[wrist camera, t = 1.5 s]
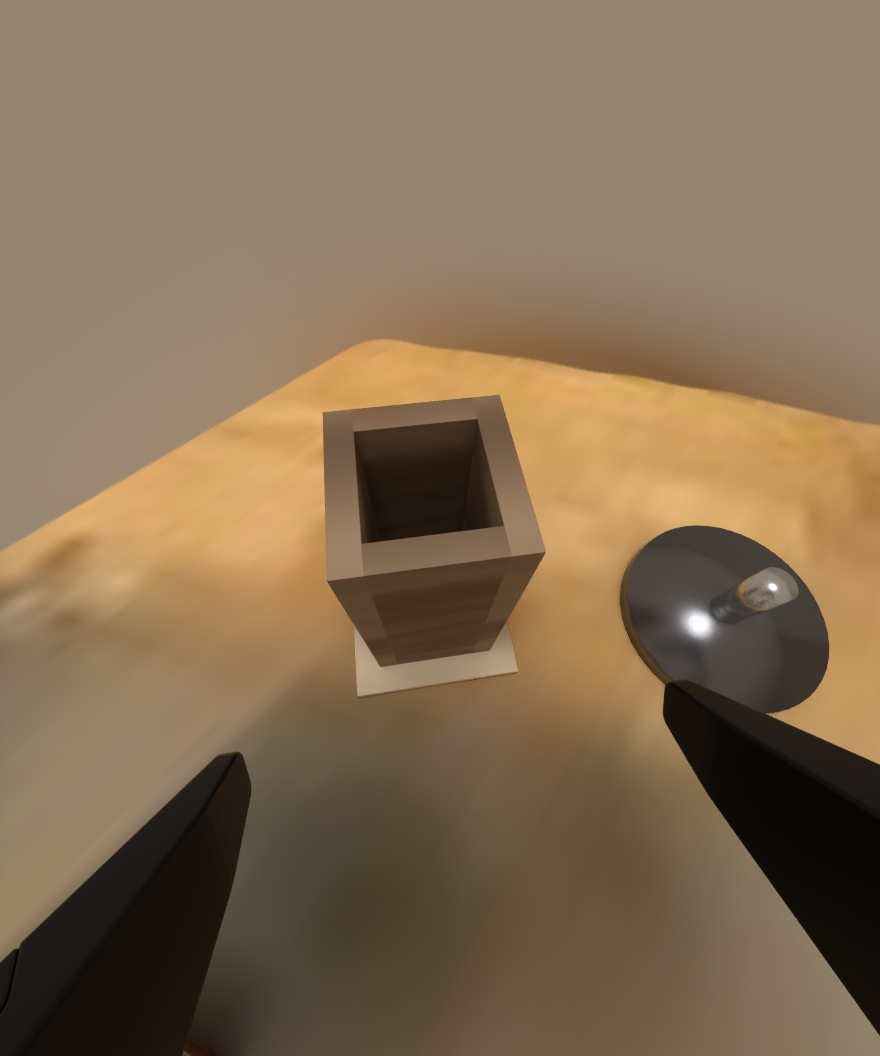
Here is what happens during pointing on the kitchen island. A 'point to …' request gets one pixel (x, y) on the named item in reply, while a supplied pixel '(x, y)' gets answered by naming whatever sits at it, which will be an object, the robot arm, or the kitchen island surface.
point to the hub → (725, 618)
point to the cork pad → (431, 668)
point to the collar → (427, 525)
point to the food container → (196, 1049)
